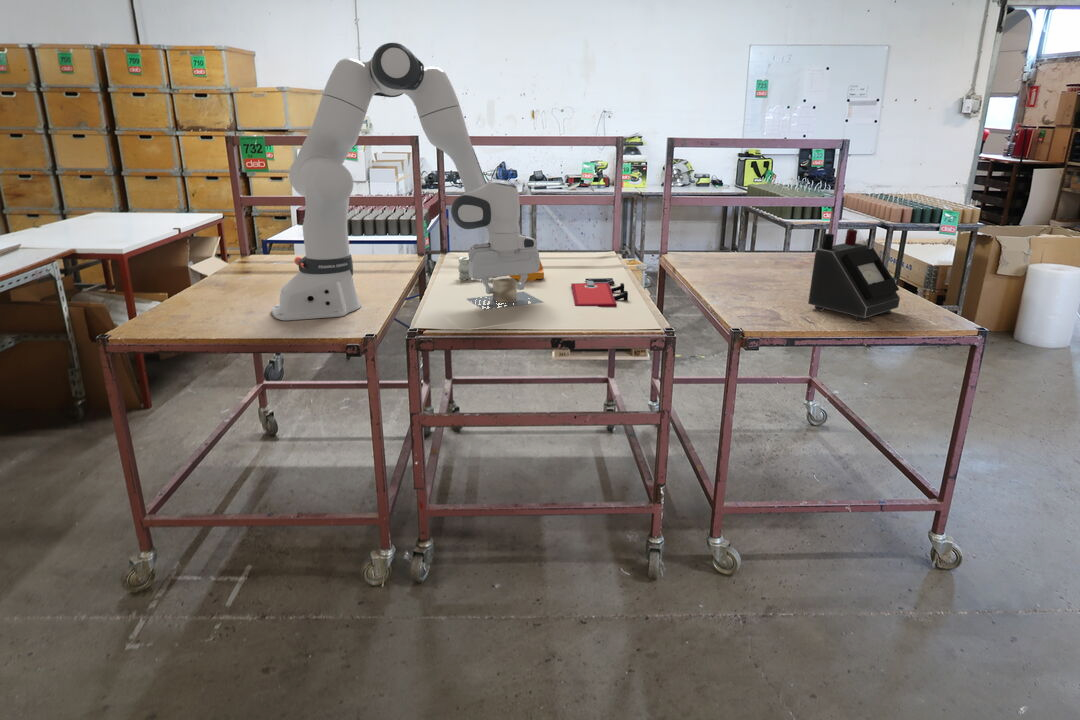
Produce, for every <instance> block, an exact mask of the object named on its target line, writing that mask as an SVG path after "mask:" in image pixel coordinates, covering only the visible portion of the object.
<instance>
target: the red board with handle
mask: <svg viewBox="0 0 1080 720" xmlns="http://www.w3.org/2000/svg"><path fill="white" fill-rule="evenodd" d="M610 284H616V283H615V281H614V279H613V277H612V278H610V277H607V278H604V277H602V278H600V277H599V278H585V282H584V283H580V282H579V283H575V282H574V283H571V292H572V296H573V303H574V306H575V307H598V308H599V307H600V308H601V307H603V308H605V307H606V308H609V307H611V308H615V307H617V300H621V299H623V301H624V302H628V300H629V293H628V290H625V283H623V282H620V283H619V284H620V285H619V286H615V287H611V285H610ZM614 292H619V293H620V294H618V295H614Z"/></svg>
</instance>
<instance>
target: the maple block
mask: <svg viewBox="0 0 1080 720" xmlns="http://www.w3.org/2000/svg"><path fill="white" fill-rule="evenodd" d="M491 279H492V287H493V293H492V295H493V300H495V301H497V302H498V303H500V304H501V303H509V302H516V301H517V291H518V289H517V283H518V282H517V279H513V278H511V277H509V276H503V277H497V278H491Z"/></svg>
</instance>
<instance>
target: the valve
mask: <svg viewBox="0 0 1080 720" xmlns="http://www.w3.org/2000/svg"><path fill="white" fill-rule="evenodd" d="M458 272H459V274H458V276H459V277H458V278H459V279H460V278H461V279H469V280H471V279H472V278H471V277H470V276H469V256H462V257H459V258H458ZM470 278H471V279H470ZM495 278H498V277H495ZM461 279H460V280H461Z"/></svg>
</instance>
